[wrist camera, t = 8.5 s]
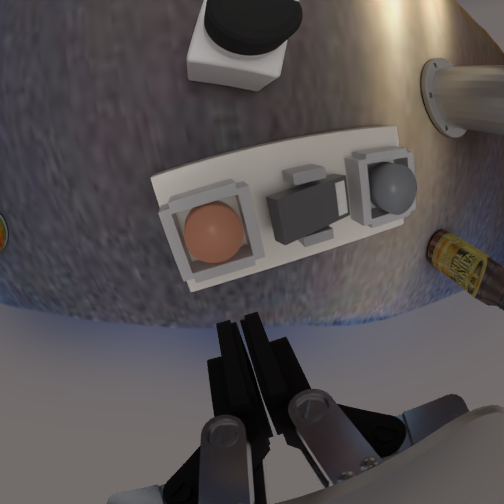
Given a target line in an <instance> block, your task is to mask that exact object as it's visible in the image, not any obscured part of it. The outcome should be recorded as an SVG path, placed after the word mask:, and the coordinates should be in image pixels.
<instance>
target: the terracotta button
mask: <svg viewBox="0 0 504 504" xmlns="http://www.w3.org/2000/svg"><path fill="white" fill-rule="evenodd" d="M243 237H244V231H243V226H242V223H241V221H240V219H239V218H238V216H237V214H236V213H235V211H234V210H233V209H232V208H231V207H230V206H229V205H228V204H226V203H224V202H222V201H218V200H217V201H213V202H210V203H207V204H203V205H200V206H197V207H193V208H192V209H191V210H190V212H189V213H188V215H187V217H186V220H185V227H184V241H185V245H186V247H187V249H188V251H189V252H190V253H191V254H192V255H193V256H194V257H195V258H197V259H198V260H200V261H203V262H207V263H219V262H223V261H226V260H228V259H229V258H231V257H232V256H233V255H235V254H236V252H237V251H238V250H239V248H240V247H241V245H242V242H243Z"/></svg>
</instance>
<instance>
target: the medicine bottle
mask: <svg viewBox="0 0 504 504" xmlns="http://www.w3.org/2000/svg"><path fill="white" fill-rule="evenodd" d="M301 21H302V8H301V5H300V2H299V0H204V2H203V4H202V7H201V10H200V13H199V16H198V20H197V23H196V26H195V29H194V33H193V36H192V39H191V43H190V47H189V50H188V54H187V73H188V79H189V80H190V81H198V82H205V83H212V84H219V85H225V86H231V87H236V88H241V89H246V90H251V91H259V90H261V89H262V88H264V87H265V86H267V85H268V84H269V83H271V82H272V81H274V80H275V79H277V78H278V77H280V74H281V70H282V65H283V60H284V55H285V50H286V45H287V40H288V38H289V37H290V36H292V35H293V34H294V33H295V32H296V31H297V29H298V28H299V26H300V24H301Z"/></svg>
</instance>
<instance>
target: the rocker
mask: <svg viewBox="0 0 504 504" xmlns="http://www.w3.org/2000/svg"><path fill="white" fill-rule="evenodd" d="M266 200H267V205H268V209H269V214H270V219H271V223H272V228H273V233H274V238H275V241H277V242H279V243H281V244H283V245H288V244H290V243H292V242H294V241H296V240H298V239H300V238H303V237H305V236H307V235H309V234H311V233H313V232H315V231H317V230H320V229H322V228H324V227H326V226H328V225H330V224H332V223H334V222H336V221H338V220H341V219H343V218H345V217H347V216H349V215H350V207H349V197H348V188H347V180H346V175H340V174H332V175H329V176H326V178H324V179H320V180H315V181H311V182H308V183H305V184H302V185H299V186H296V187H293V188H290V189H287V190H284V191H281V192H278V193H276V194H273V195H270V196H267V197H266Z"/></svg>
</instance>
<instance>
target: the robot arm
mask: <svg viewBox="0 0 504 504" xmlns="http://www.w3.org/2000/svg"><path fill="white" fill-rule="evenodd" d="M421 85H422V94H423V99H424V103H425V106H426V109H427V112H428V114H429V116H430V118H431V120H432V122H433V123H434V125H435V126H436V128H437V129H438V130H439V131H440V132H441V133H442V134H444V135H446V136H448V137H453V138H459V137H461V136H462V135H464V134H465V132H466V131H467V130H474V131H480V132H486V133H492V134H497V135H502V136H504V65H474V66H456V67H455V66H454V65H453V64H452V63H450V62H449V61H447V60H445V59H443V58H435V59H431V60H429V61H428V62H427V63H426V65H425V66H424V68H423V72H422V80H421ZM240 322H241V326H242V329H243V333H244V336H245V340H246V343H247V347H248V350H249V354H250V357H251V360H252V364H253V367H254V371H255V374H256V377H257V381H258V384H259V387H260V391H261V394H262V396H263V400H264V402H265V405H266V407H267V410H268V412H269V415H270V417H271V420H272V422H273V425H274V427H275V429H276V432H277V434H278V435H280V434H284V437H285V440H286V442H287V444H288V445H290V446H293V447H295V448H298V449H299V451H300V452H301V454H302V455H303V457H304V459H305V460H306V462H307V464H308V465H309V467H310V468H311V470H312V471H313V473H314V475H315V476H316V478H317V479H318V481H319V482H320V484H321V485H322V487H323V488H324V489H322V490H319V491H316V492H313V493H310V494H307V495H304V496H301V497H298V498H294V499H291V500H287V501H283V502H280V503H276V504H504V407H501V406H498V405H489V406H483V407H480V408H477V409H474V410H472V411H469V410H468V408H467V406H466V403H465V401H464V400H463V399H462V397H460V396H458V395H456V394H449V395H445V396H443V397H441V398H438V399H436V400H434V401H431V402H429V403H426V404H423V405H421V406H418V407H416V408H413V409H410V410H407V411H404V412H403V414H401V415H398V416H391V415H385V414H381V413H376V412H371V411H366V410H361V409H357V408H352V407H348V406H344V405H340V404H337V403H336V402H335V401H334V400H333V398H332V397H331V396H330V395H329V394H328V393H326V392H325V391H322V390H318V389H311V387H310V385H309V383H308V381H307V379H306V377H305V375H304V373H303V371H302V369H301V367H300V364H299V363H298V360H297V358H296V356H295V354H294V352H293V350H292V348H291V345H290V343H289V341H288V339H287V338H286V337H283V338H281V339H277V340H274V341H271V342H269V341H268V338H267V335H266V333H265V330H264V327H263V325H262V322H261V320H260V317H259V314H258V312H254V313H251V314H248V315H245V319H244V320H241V321H240ZM216 325H217V332H218V337H219V344H220V349H221V355H222V356H221V357H217V358H213V359H210V360H208V361H207V364H208V373H209V381H210V388H211V396H212V403H213V410H214V418H212V419H210V420H209V421H208V422H207V423H206V424H205V426H204V427H203V429H202V433H201V445H200V447H199V448H198V449H197V450H196V451H195V452H194V453H193V455H192V456H191V457H190V458H189V459H188V460H187V461H186V463H184V464H183V466H182V467H181V468H180V469H179V470H178V471H177V472H176V473H175V474H174V475H173V476H172V477H171V479H169V480H168V481H167V483H166V484H164V485H161V486H158V485H153V486H150V487H145V488H141V489H136V490H131V491H126V492H121V493H116V494H113V495H112V496H111V497H110V498H109V499H108V502H107V504H270V503H269V493H268V484H267V475H266V464H265V456H266V455H267V453H268V452H269V451H270V447H269V445H270V442H269V438H270V437H273V434H272V430H271V427H270V424H269V421H268V417H267V414H266V411H265V408H264V405H263V401H262V398H261V395H260V391H259V388H258V385H257V382H256V378H255V375H254V372H253V368H252V365H251V362H250V360H249V357H248V354H247V352H246V349H245V346H244V343H243V340H242V337H241V335H240V332H239V329H238V326H237V323H236V322H234V323H231V322H230V320H228V321H224V322H221V323H217V324H216Z"/></svg>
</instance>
